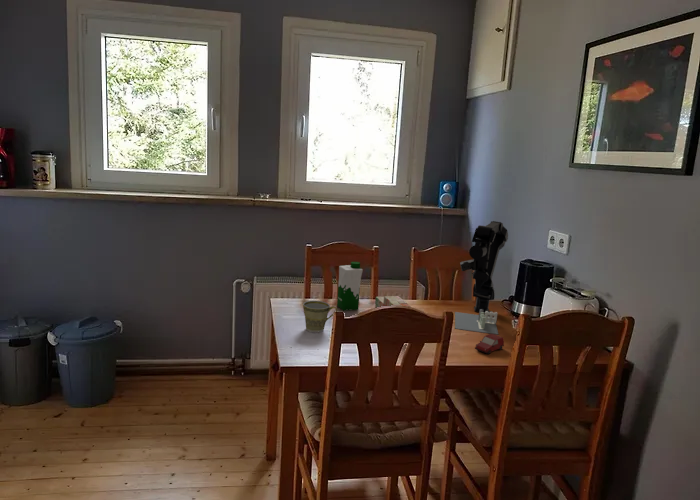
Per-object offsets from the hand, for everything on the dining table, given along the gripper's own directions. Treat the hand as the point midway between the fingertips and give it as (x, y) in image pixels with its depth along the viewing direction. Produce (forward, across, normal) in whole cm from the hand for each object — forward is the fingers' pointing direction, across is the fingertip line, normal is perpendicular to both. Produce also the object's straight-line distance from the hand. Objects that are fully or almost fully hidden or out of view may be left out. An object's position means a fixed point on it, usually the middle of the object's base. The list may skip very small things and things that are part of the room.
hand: (477, 291), depth 226 cm
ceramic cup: (+12, +41, -59) cm, 73 cm away
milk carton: (+12, +10, -54) cm, 56 cm away
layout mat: (+12, +7, 0) cm, 14 cm away
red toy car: (+12, +36, +4) cm, 38 cm away
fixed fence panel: (+12, +5, +5) cm, 14 cm away
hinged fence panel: (+11, +10, +3) cm, 16 cm away
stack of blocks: (+12, +26, -34) cm, 44 cm away
